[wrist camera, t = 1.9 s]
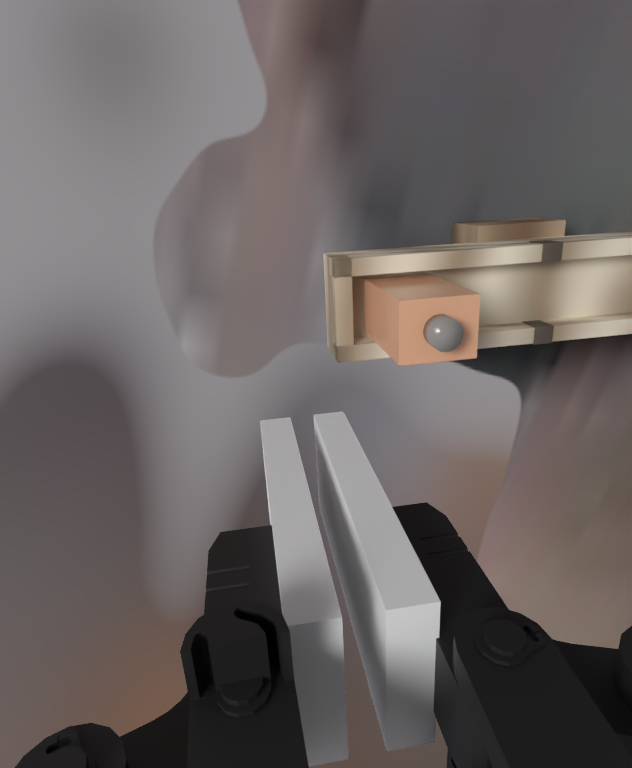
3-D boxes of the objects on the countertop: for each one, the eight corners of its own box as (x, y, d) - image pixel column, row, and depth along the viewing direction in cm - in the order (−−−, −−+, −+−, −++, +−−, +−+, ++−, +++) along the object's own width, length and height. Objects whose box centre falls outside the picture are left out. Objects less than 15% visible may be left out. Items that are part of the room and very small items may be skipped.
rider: (364, 331, 31) (405, 372, 24) (363, 278, 30) (405, 304, 23) (427, 325, 32) (485, 364, 25) (428, 273, 31) (490, 297, 23)
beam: (319, 345, 38) (338, 379, 31) (313, 232, 35) (333, 240, 28) (640, 314, 41) (725, 339, 34) (658, 209, 38) (754, 212, 31)
